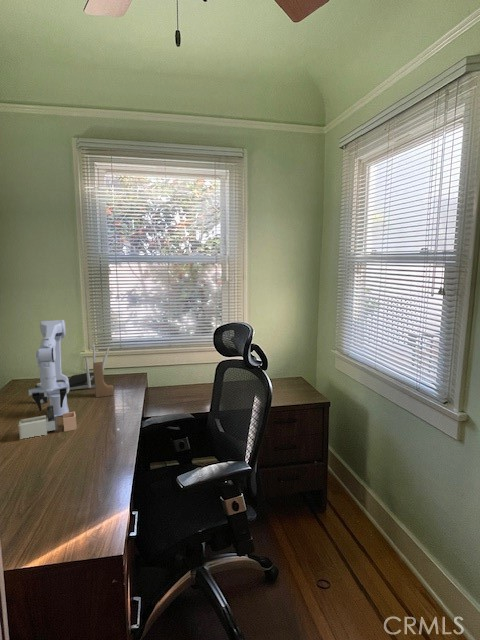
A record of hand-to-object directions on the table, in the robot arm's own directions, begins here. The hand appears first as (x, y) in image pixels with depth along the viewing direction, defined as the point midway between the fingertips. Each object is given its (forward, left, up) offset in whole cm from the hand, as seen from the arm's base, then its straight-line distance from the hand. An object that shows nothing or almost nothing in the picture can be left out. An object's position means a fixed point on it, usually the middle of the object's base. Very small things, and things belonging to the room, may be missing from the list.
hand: (51, 408), depth 148 cm
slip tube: (-1, -4, -9) cm, 10 cm away
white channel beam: (-1, -7, -10) cm, 12 cm away
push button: (-40, -5, -11) cm, 42 cm away
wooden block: (-35, +25, -10) cm, 44 cm away
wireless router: (-61, +20, -11) cm, 65 cm away
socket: (-1, +6, -10) cm, 12 cm away
